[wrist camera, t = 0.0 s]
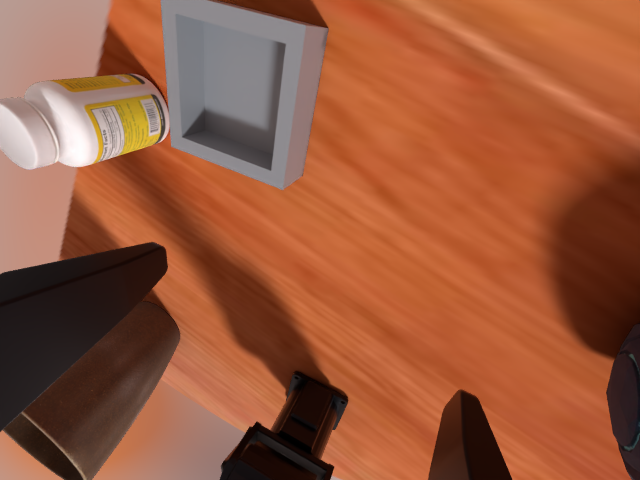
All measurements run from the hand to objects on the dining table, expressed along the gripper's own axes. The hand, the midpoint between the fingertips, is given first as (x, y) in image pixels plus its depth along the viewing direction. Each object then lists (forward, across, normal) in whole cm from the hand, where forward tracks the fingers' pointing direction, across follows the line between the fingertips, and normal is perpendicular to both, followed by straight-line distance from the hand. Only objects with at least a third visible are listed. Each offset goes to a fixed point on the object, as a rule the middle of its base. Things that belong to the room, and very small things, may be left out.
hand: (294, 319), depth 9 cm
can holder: (+15, +11, -2) cm, 18 cm away
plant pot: (+15, +23, +30) cm, 41 cm away
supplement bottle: (+15, +21, +2) cm, 26 cm away
